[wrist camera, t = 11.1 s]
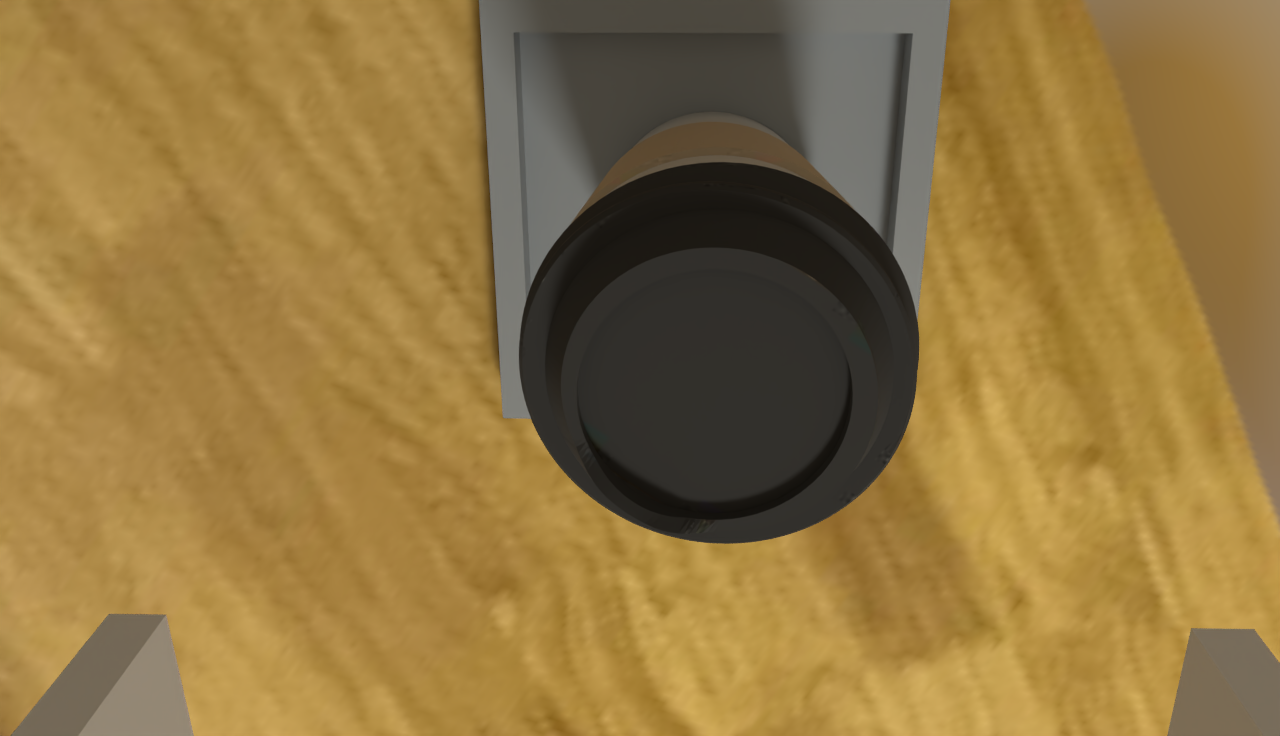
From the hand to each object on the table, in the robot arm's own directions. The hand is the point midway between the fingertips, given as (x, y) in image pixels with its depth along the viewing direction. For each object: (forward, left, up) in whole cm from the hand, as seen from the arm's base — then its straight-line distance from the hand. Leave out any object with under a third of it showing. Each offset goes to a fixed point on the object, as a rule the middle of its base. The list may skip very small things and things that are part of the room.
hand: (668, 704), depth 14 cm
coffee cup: (0, +1, -24) cm, 24 cm away
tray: (0, +1, -25) cm, 25 cm away
